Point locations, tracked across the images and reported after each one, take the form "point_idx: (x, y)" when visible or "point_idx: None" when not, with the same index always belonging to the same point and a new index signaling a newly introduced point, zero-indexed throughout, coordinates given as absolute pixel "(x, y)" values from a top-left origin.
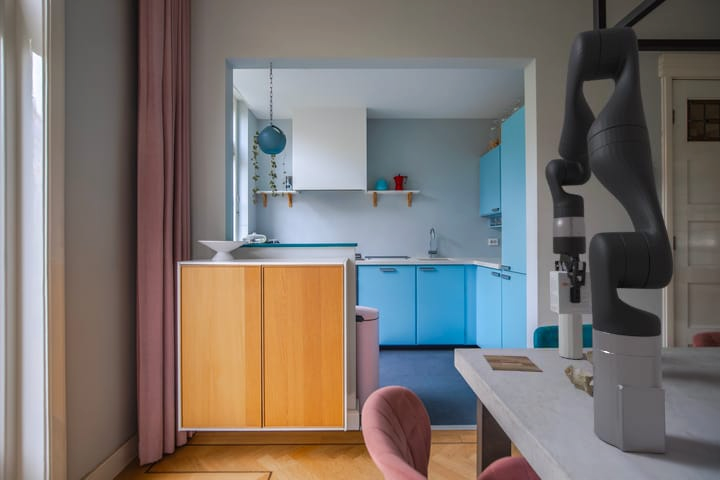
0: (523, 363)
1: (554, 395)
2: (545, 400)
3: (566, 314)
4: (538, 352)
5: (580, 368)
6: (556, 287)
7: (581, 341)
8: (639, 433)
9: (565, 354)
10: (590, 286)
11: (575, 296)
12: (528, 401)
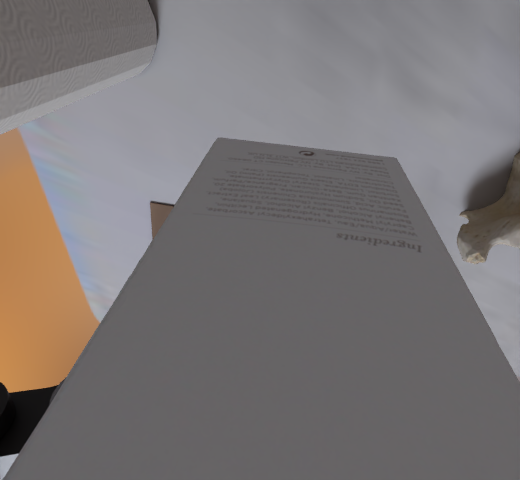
0: None
1: (497, 285)
2: (516, 314)
3: (30, 111)
4: (74, 133)
5: (512, 241)
6: None
7: None
8: None
9: (140, 71)
10: (497, 346)
11: None
12: (507, 341)
